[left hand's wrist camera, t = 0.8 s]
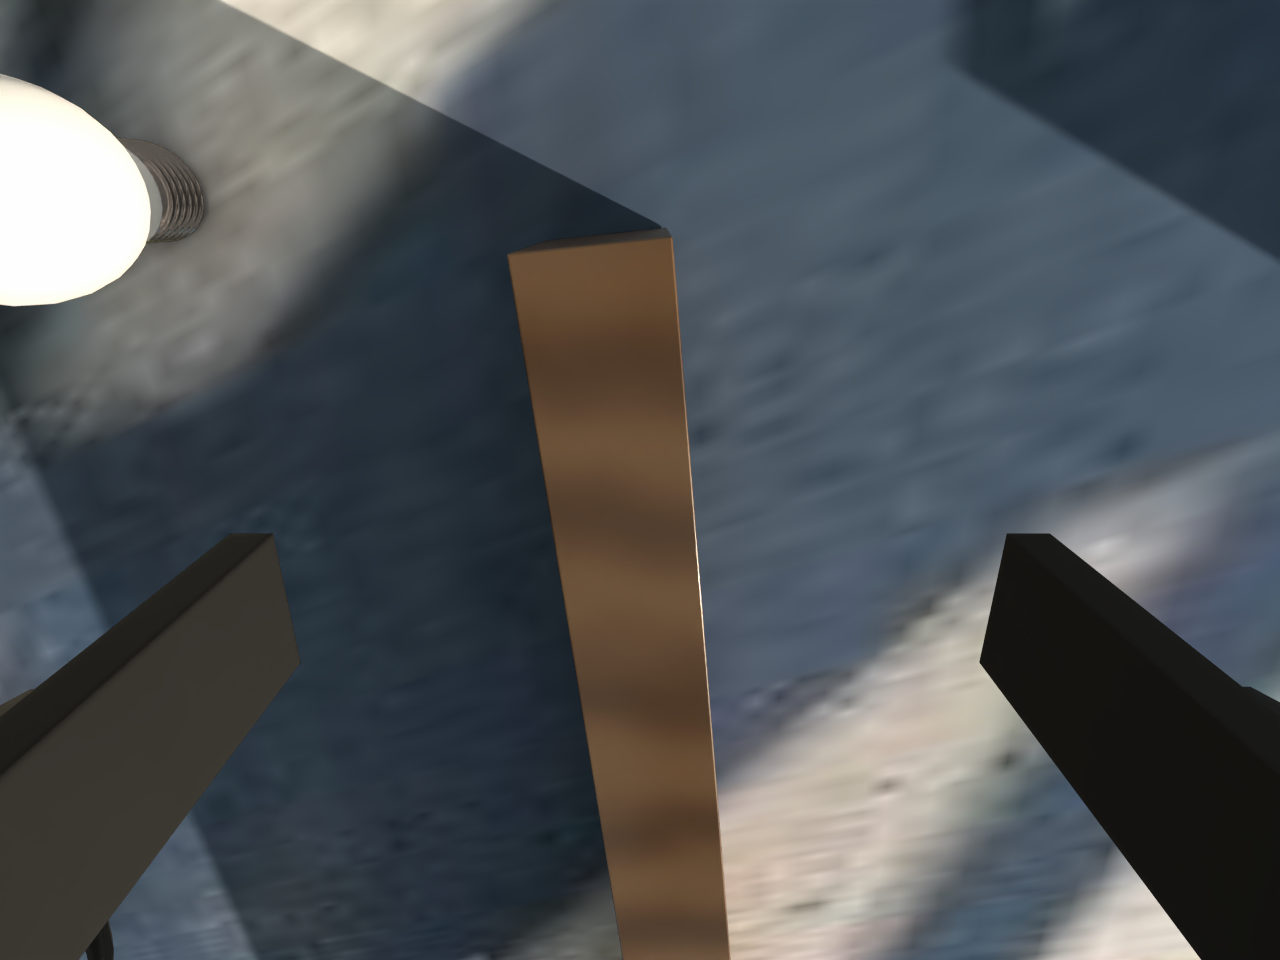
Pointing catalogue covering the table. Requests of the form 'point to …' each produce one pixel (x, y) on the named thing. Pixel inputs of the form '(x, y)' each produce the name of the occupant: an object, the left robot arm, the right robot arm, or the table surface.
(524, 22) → the table surface
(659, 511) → the post
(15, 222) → the light bulb
